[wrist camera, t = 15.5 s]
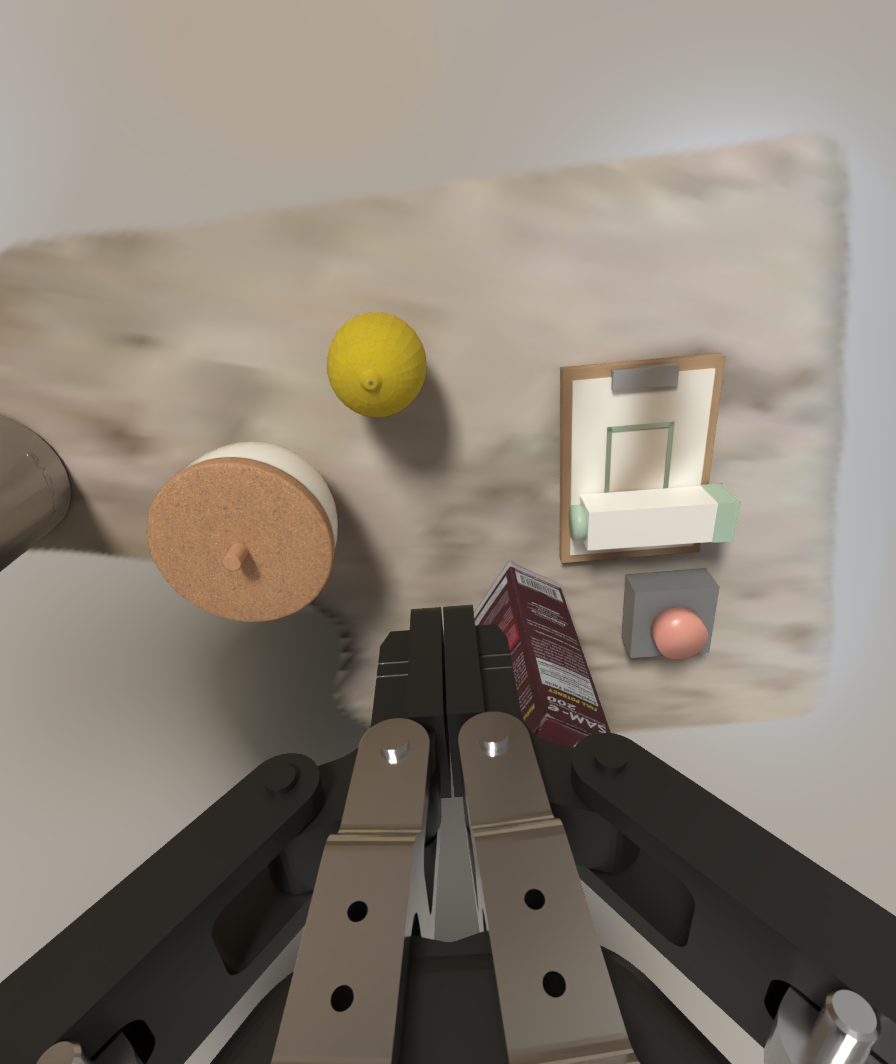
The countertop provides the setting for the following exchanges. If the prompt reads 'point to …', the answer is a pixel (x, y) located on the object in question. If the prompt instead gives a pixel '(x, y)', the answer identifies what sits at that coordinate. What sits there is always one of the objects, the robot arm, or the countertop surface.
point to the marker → (655, 517)
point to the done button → (679, 633)
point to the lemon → (376, 364)
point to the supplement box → (544, 656)
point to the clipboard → (635, 435)
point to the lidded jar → (245, 532)
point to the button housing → (664, 605)
